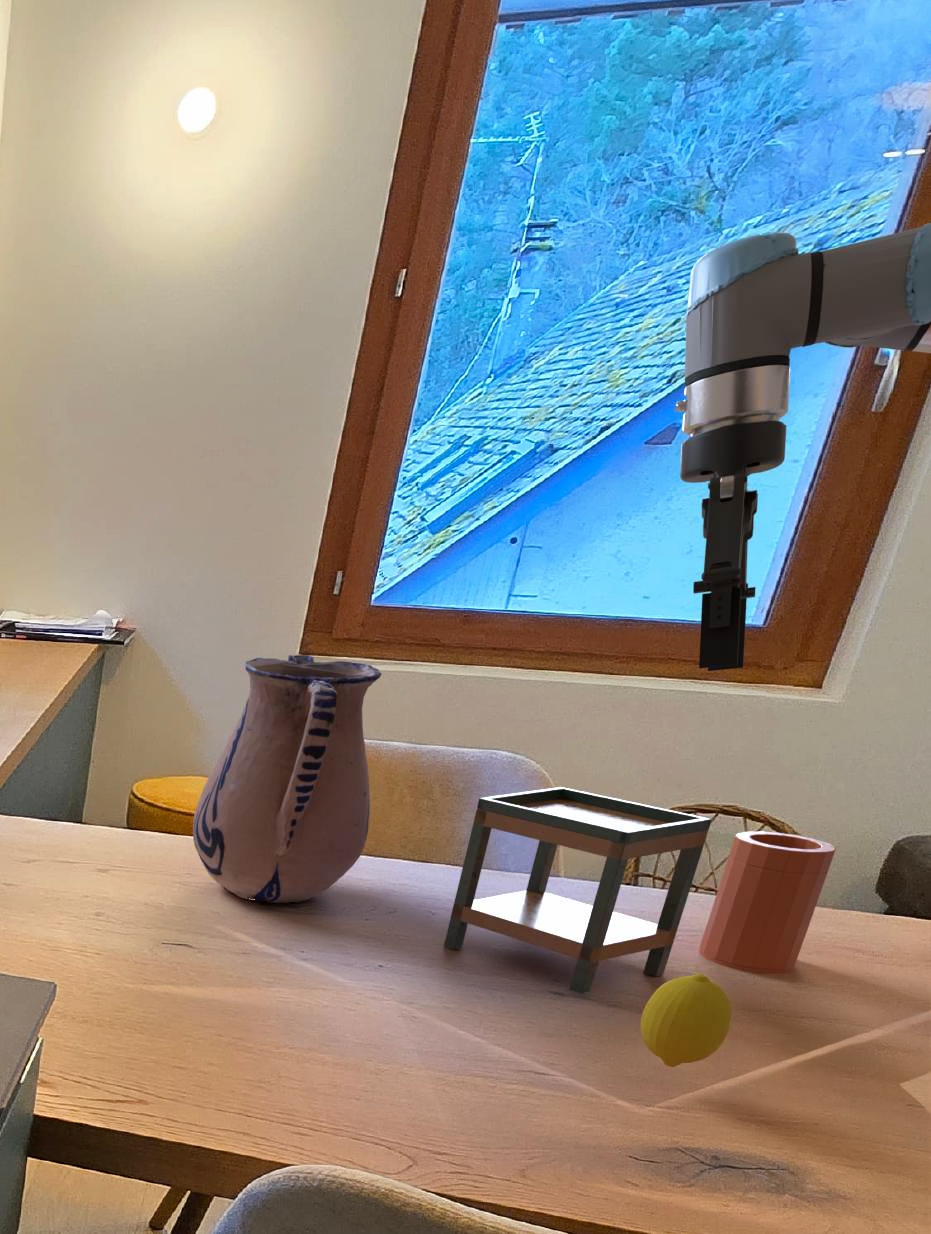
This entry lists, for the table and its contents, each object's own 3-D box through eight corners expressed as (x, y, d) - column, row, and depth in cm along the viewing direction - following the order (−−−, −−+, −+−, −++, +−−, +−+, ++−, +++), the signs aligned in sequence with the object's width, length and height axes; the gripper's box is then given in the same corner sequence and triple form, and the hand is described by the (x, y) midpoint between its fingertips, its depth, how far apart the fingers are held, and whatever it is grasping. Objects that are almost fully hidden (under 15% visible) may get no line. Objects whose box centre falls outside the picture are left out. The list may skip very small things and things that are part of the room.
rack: (663, 974, 124) (712, 819, 118) (581, 994, 119) (628, 832, 113) (522, 930, 135) (560, 786, 129) (443, 946, 131) (478, 798, 125)
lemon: (641, 1077, 103) (672, 984, 99) (618, 1047, 108) (648, 957, 104) (723, 1086, 101) (758, 992, 98) (697, 1055, 106) (729, 964, 103)
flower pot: (809, 968, 125) (853, 846, 121) (764, 980, 122) (807, 855, 118) (726, 945, 132) (764, 828, 127) (681, 955, 129) (718, 836, 124)
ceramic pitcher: (322, 866, 154) (366, 648, 143) (389, 934, 135) (446, 688, 124) (168, 863, 156) (201, 648, 145) (213, 929, 137) (254, 687, 126)
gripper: (690, 457, 131) (681, 675, 135) (671, 416, 112) (661, 670, 116) (788, 439, 126) (776, 665, 130) (784, 394, 108) (770, 659, 111)
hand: (721, 668), depth 123 cm, fingers open, 13 cm apart
